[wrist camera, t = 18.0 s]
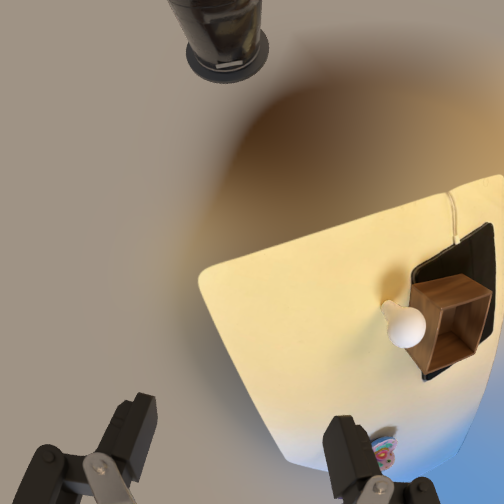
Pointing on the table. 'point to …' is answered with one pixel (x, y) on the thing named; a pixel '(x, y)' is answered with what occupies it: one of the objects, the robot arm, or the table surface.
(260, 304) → the table surface
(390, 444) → the cell model
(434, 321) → the box
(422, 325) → the lightbulb
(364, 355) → the table surface
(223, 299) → the table surface
